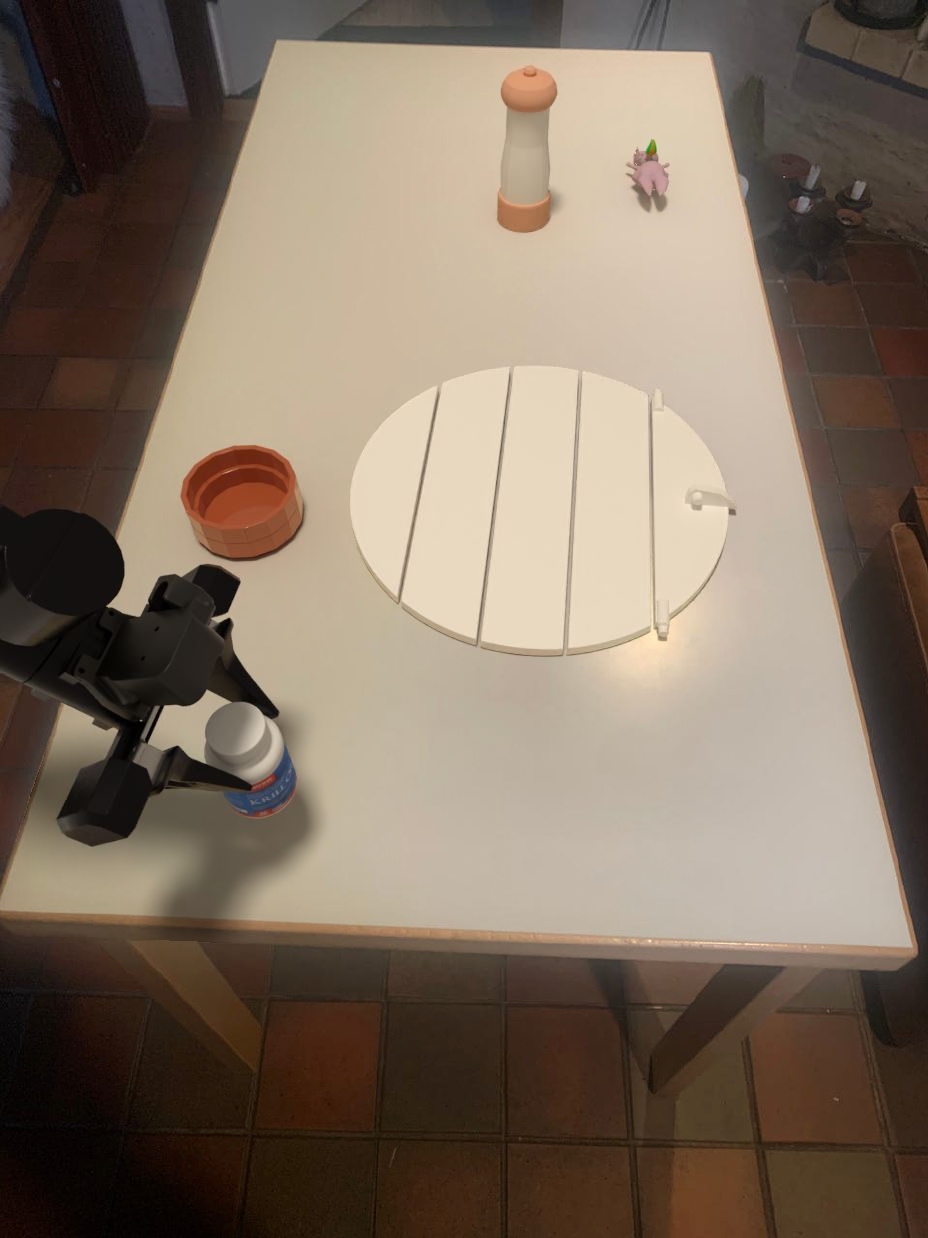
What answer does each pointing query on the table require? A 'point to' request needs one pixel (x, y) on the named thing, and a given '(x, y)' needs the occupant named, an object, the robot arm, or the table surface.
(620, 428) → the round slatted board
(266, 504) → the bowl
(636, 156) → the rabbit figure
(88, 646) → the robot arm
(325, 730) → the table surface
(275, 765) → the pill bottle
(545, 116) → the salt shaker
